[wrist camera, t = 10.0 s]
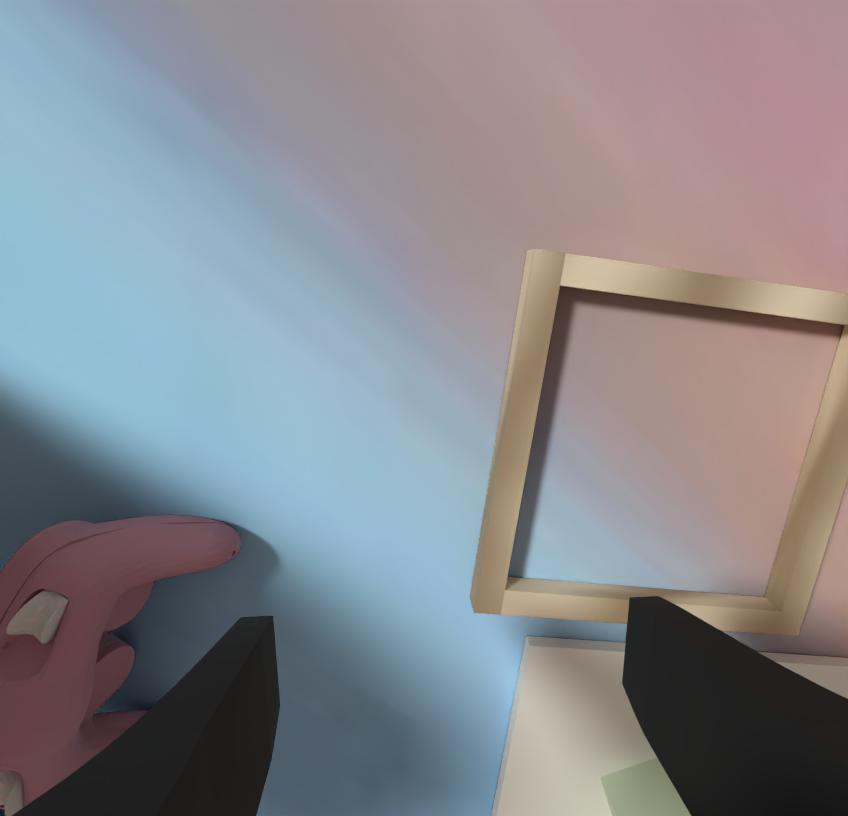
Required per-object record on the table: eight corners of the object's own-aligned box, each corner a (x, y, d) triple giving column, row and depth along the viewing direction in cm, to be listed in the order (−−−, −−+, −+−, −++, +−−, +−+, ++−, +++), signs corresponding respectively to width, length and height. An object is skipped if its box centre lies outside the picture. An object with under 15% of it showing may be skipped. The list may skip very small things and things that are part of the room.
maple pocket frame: (877, 300, 20) (903, 302, 19) (780, 620, 23) (798, 635, 22) (527, 250, 19) (535, 249, 18) (469, 597, 21) (474, 612, 21)
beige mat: (847, 657, 24) (858, 667, 23) (760, 913, 27) (769, 927, 26) (526, 636, 22) (530, 645, 21) (473, 909, 25) (475, 924, 25)
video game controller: (164, 474, 21) (-47, 524, 15) (259, 526, 20) (72, 606, 13) (111, 691, 23) (-97, 821, 16) (194, 752, 22) (3, 920, 15)
